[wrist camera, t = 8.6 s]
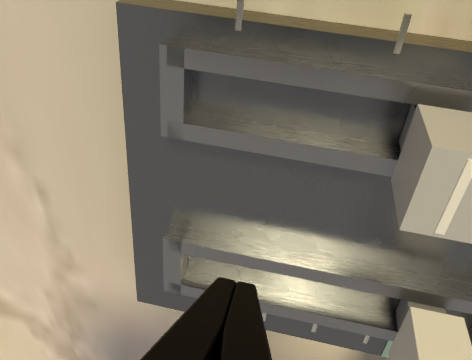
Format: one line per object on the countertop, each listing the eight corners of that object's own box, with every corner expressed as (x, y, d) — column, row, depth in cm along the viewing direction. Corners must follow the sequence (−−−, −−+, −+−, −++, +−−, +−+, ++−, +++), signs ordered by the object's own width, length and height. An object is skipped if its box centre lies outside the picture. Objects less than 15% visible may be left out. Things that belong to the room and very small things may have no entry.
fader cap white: (454, 285, 22) (481, 379, 17) (430, 330, 24) (448, 424, 19) (405, 275, 22) (419, 366, 18) (385, 320, 24) (394, 411, 20)
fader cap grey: (476, 92, 16) (521, 162, 12) (445, 164, 18) (475, 245, 14) (410, 82, 17) (433, 147, 12) (386, 154, 18) (399, 231, 14)
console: (722, 46, 15) (786, 73, 13) (494, 359, 26) (508, 402, 24) (129, -32, 18) (99, -20, 16) (146, 283, 29) (129, 316, 26)
